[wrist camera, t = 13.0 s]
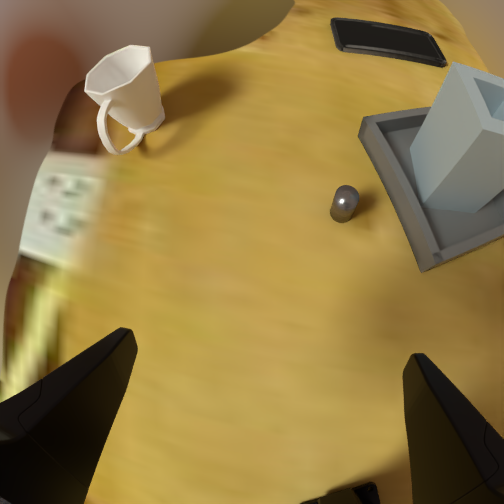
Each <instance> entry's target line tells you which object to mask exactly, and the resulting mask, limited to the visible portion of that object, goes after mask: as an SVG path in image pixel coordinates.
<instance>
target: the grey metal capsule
mask: <svg viewBox="0 0 504 504" xmlns="http://www.w3.org/2000/svg"><path fill="white" fill-rule="evenodd" d="M358 202H359V194H358V192H357V190H356V189H355V188H353V187H352V186H349V185H343V186H341V187H339V188H338V189H337V190H336V193H335V196H334V199H333V203H332V206H331V209H330V215H331V217H332V218H333V220H335V221H336V222H339V223H345V222H347V221H349V220H350V218H351V216H352V214H353V212H354V210H355V208H356V206H357V204H358Z"/></svg>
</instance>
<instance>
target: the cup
mask: <svg viewBox="0 0 504 504" xmlns="http://www.w3.org/2000/svg"><path fill="white" fill-rule="evenodd" d="M84 91H85V92H86V93H87V94H88V95H89V96H90V97H91V98H92V99H93V100H94V101H95V102H96V103H98V104H99V105H100V106H101V107H100V110H99V113H98V118H97V126H98V134H99V136H100V138H101V140H102V142H103V145H104V146H105V147H106V149H107V150H108V152H110V153H112V154H114V155H122V154H126V153H128V152H130V151H131V150H133V149H134V148H135V147H136V146H138V144H139V143H140V142H141V141H142V139H143V136H144V135H145V134H147V133H150V132H152V131H155V130H156V129H157V128H158V127H159V125H160V124H161V123H162V122H163V121H164V119H165V114H164V108H163V106H162V104H161V96H160V89H159V83H158V79H157V75H156V71H155V67H154V63H153V58H152V54H151V50H150V47H146V46H136V45H129V46H127V47H124V48H122V49H120V50H117V51H115V52H113V53H111V54H109V55H106V56H105V57H104V58H103V59H102V60H101V61H100V62H99V63H98V64H97V65H96V66H95V67H94V68H93V69H92V70H91V71H90V72H89V73H88V74H87V77H86V83H85V90H84ZM107 114H109V115H110V116H111V117H112V118H114V119H115V120H117V121H118V122H120V123H121V124H122V125H124V126H126V127H128V130H129V132H131V133H134V134H136V136H135V139H134V140H133V141H132V142H131V143H130V144H129V145H128V146H126V147H125V148H123V149H122V150H118V149H116V147H115V146H114V144H113V143H112V141H111V139H110V137H109V134H108V131H107V123H106V118H107Z"/></svg>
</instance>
